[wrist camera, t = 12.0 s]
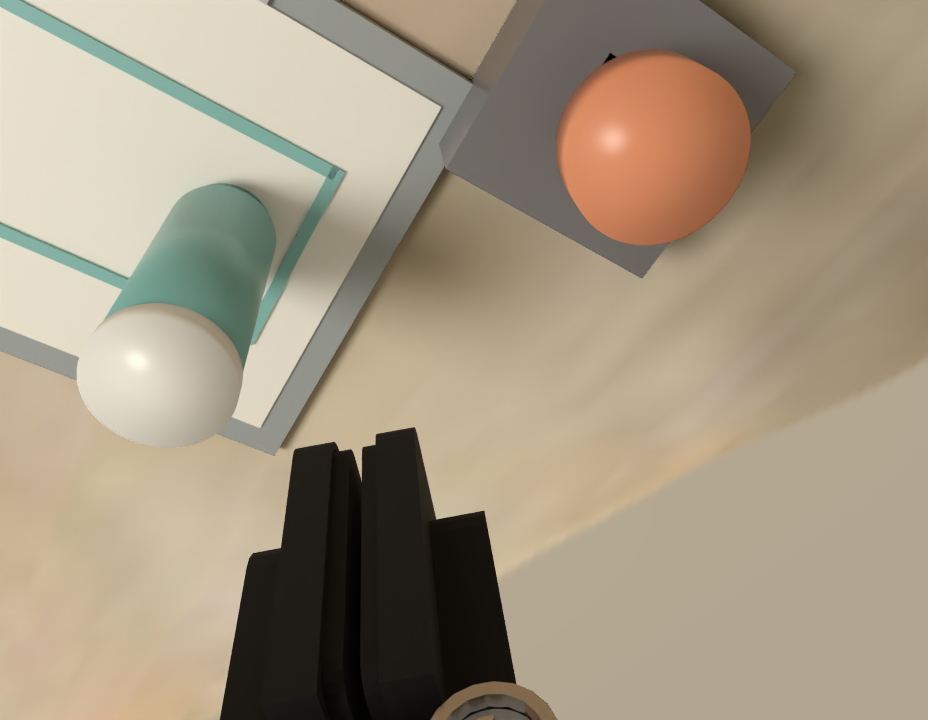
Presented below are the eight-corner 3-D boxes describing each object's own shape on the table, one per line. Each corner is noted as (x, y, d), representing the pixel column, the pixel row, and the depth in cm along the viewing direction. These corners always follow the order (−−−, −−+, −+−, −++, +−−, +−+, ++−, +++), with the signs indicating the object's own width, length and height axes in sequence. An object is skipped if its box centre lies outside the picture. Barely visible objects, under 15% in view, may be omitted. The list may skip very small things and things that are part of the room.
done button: (504, 141, 23) (532, 193, 19) (593, -4, 21) (643, 21, 17) (625, 212, 24) (673, 273, 20) (716, 82, 23) (788, 123, 19)
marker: (154, 246, 25) (55, 412, 17) (194, 155, 23) (107, 290, 16) (254, 292, 26) (203, 467, 18) (298, 207, 25) (264, 357, 17)
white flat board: (-287, 230, 24) (-305, 240, 23) (-193, -323, 18) (-214, -331, 17) (275, 447, 30) (273, 460, 29) (485, 89, 24) (488, 95, 23)
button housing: (437, 139, 25) (445, 169, 22) (565, -84, 22) (591, -80, 19) (616, 241, 27) (641, 278, 24) (751, 51, 24) (796, 71, 22)
